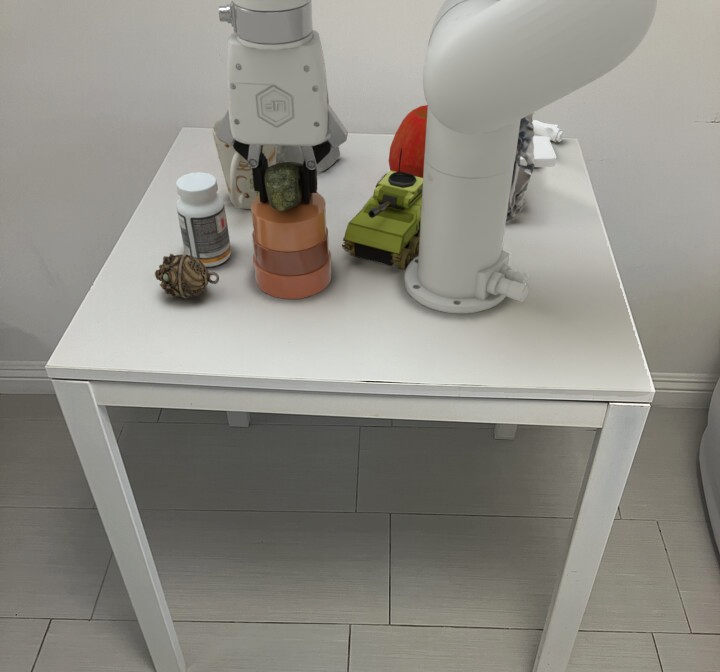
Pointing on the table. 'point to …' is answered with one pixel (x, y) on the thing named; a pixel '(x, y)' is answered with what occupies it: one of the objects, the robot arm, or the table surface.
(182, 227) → the pill bottle
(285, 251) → the cup stack
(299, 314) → the table surface
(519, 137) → the grey rough flat piece
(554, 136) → the small white plastic part
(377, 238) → the toy tank
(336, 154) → the mineral specimen
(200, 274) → the pendant
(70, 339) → the table surface
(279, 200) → the decorative stone
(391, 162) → the apple
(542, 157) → the phone case
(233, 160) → the mug
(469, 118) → the robot arm
